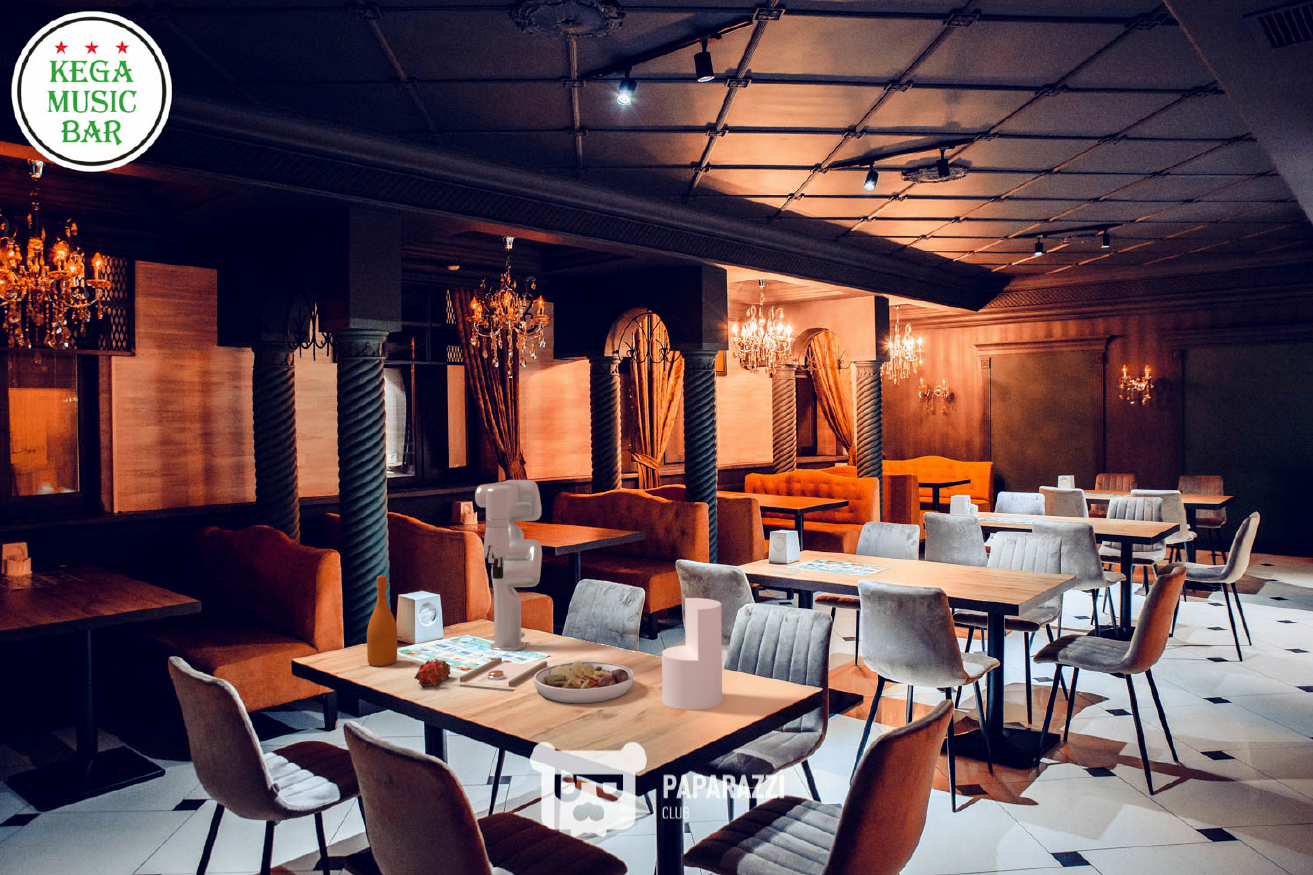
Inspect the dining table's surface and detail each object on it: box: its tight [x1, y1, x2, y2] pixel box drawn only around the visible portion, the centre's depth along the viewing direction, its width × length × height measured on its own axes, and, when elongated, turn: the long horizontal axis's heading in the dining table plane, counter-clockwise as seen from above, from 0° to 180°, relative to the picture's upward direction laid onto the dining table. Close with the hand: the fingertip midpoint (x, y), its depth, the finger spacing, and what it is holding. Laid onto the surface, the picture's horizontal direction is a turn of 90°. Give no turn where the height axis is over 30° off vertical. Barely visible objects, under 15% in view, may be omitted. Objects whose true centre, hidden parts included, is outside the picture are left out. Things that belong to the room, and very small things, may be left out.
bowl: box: [533, 660, 635, 704], centre depth 258 cm, size 30×30×8 cm
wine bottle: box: [366, 574, 398, 667], centre depth 290 cm, size 10×10×30 cm
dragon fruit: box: [414, 658, 451, 688], centre depth 265 cm, size 8×8×12 cm
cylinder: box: [661, 597, 723, 711], centre depth 247 cm, size 17×17×28 cm
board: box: [459, 657, 548, 693], centre depth 271 cm, size 24×18×3 cm
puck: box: [487, 670, 505, 681], centre depth 267 cm, size 5×5×3 cm
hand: (498, 578), depth 287 cm, fingers closed
